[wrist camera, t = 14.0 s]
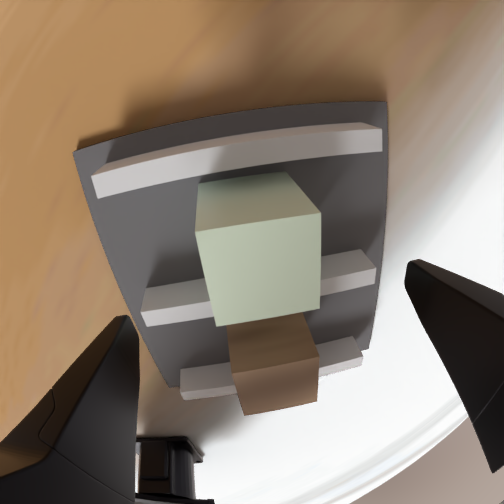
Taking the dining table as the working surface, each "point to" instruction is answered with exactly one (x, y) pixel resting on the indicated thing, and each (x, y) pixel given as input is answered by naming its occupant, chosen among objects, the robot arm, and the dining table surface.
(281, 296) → the sage block
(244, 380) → the walnut block
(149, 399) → the dining table surface
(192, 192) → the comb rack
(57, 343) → the dining table surface
